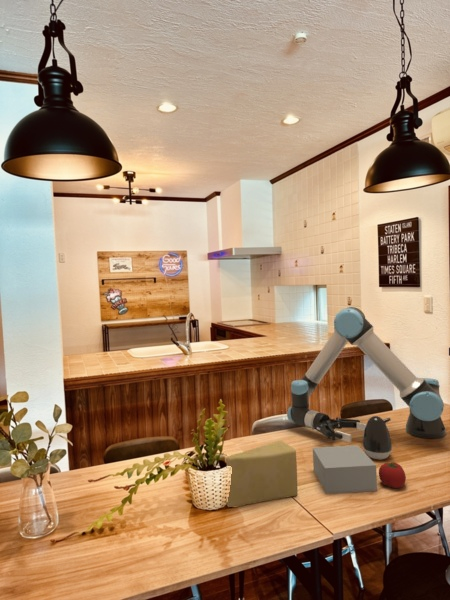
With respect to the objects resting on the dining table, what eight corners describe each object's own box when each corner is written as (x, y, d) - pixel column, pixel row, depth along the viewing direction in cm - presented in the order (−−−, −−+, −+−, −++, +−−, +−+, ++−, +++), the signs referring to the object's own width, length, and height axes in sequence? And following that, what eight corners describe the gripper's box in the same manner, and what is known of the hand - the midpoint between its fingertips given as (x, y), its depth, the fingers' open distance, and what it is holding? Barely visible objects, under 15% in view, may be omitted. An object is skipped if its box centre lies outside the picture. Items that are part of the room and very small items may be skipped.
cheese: (234, 516, 112) (231, 464, 112) (221, 500, 121) (218, 452, 121) (299, 496, 121) (297, 448, 121) (282, 483, 130) (280, 438, 130)
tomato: (406, 493, 120) (405, 469, 120) (378, 488, 123) (377, 465, 123) (406, 481, 127) (405, 458, 127) (379, 477, 130) (378, 455, 130)
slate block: (358, 467, 138) (357, 445, 138) (377, 490, 122) (376, 465, 122) (313, 470, 138) (312, 447, 138) (326, 493, 122) (324, 468, 122)
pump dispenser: (397, 462, 141) (395, 420, 141) (368, 463, 141) (366, 421, 141) (386, 450, 151) (384, 411, 151) (359, 451, 151) (357, 412, 151)
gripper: (336, 422, 175) (380, 435, 158) (298, 437, 161) (341, 452, 144) (335, 406, 175) (379, 416, 158) (297, 419, 160) (340, 432, 143)
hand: (361, 434), depth 151 cm, fingers open, 13 cm apart
